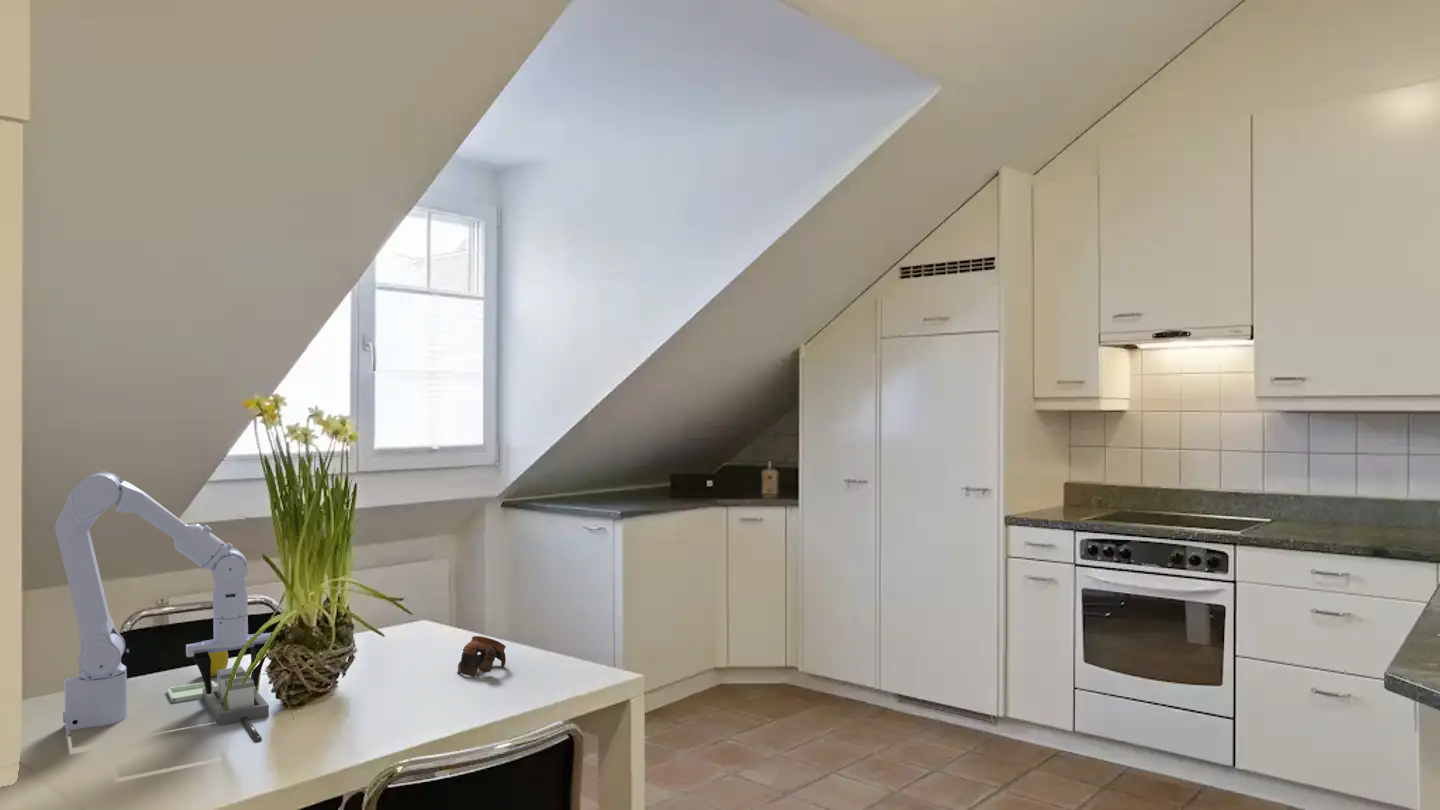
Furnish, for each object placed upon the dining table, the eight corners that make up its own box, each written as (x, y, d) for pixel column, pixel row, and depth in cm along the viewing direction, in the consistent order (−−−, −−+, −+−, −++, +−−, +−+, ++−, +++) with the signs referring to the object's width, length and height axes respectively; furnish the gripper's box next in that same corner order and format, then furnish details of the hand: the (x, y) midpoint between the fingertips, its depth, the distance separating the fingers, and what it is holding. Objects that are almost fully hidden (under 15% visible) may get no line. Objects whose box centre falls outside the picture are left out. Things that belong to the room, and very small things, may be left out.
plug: (221, 707, 178) (220, 675, 178) (217, 702, 181) (217, 670, 181) (245, 703, 180) (245, 671, 180) (241, 698, 184) (241, 666, 184)
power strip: (231, 750, 158) (231, 731, 158) (202, 701, 183) (202, 685, 183) (284, 739, 163) (284, 720, 163) (249, 693, 188) (248, 677, 188)
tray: (172, 707, 180) (172, 698, 180) (166, 696, 187) (166, 687, 187) (220, 698, 185) (220, 690, 185) (213, 688, 191) (213, 680, 191)
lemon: (219, 683, 195) (218, 643, 195) (192, 683, 195) (191, 643, 195) (233, 675, 200) (233, 636, 200) (207, 675, 200) (206, 636, 200)
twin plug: (229, 720, 171) (228, 686, 171) (225, 714, 175) (224, 680, 174) (254, 715, 174) (254, 682, 174) (250, 709, 177) (249, 676, 177)
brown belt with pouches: (447, 672, 203) (462, 634, 206) (488, 686, 207) (502, 649, 210) (467, 671, 193) (481, 631, 197) (509, 686, 197) (523, 646, 201)
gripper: (268, 606, 188) (269, 676, 188) (183, 617, 179) (184, 690, 179) (276, 613, 182) (277, 685, 182) (188, 624, 174) (189, 700, 174)
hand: (231, 688), depth 181 cm, fingers open, 7 cm apart
